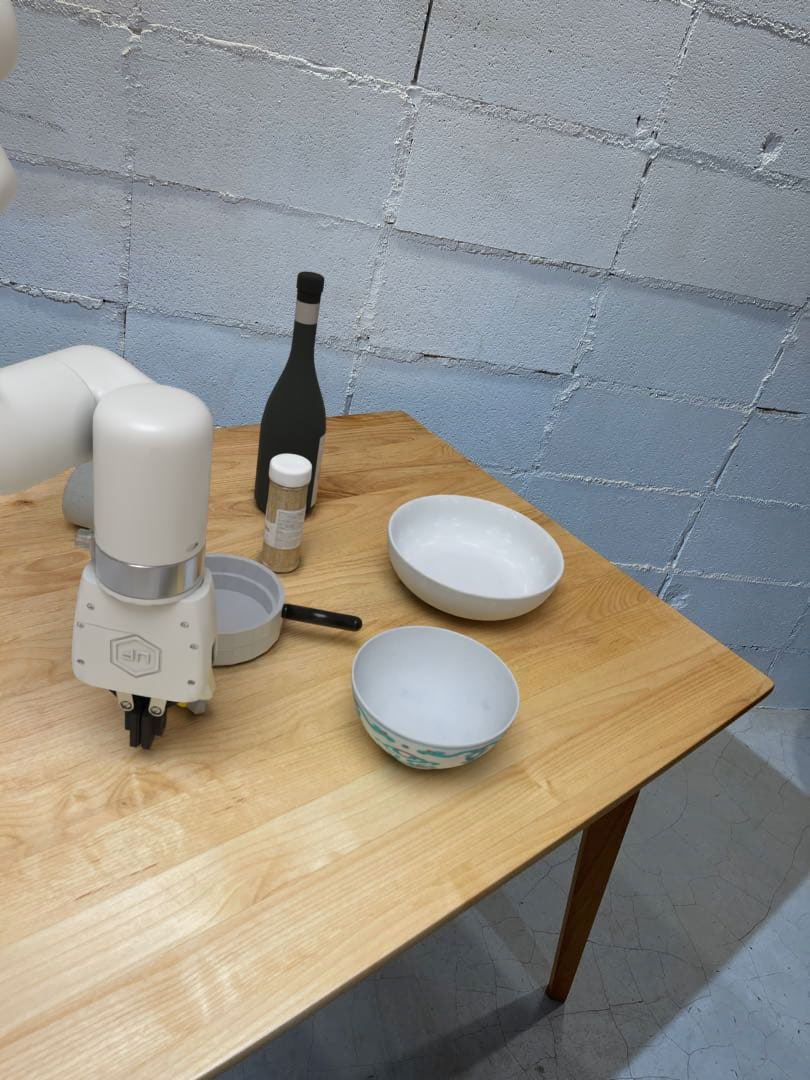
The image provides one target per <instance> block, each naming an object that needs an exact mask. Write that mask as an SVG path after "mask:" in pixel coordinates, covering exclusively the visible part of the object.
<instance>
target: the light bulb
mask: <svg viewBox="0 0 810 1080" xmlns="http://www.w3.org/2000/svg"><path fill="white" fill-rule="evenodd" d="M176 705H177V706H179V707H181V708H187V709H188V710H189V711H190V712H191V713H193V714H194V715H197V714H198V715H199V714H203V713H205V712H206V710H207V709H206V700H197V701H194V702H179V703H177V704H176Z"/></svg>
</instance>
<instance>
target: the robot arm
mask: <svg viewBox="0 0 810 1080" xmlns="http://www.w3.org/2000/svg"><path fill="white" fill-rule="evenodd" d="M20 44H21V38H20V30H19V23H18V19H17V17H16V13H15V9H14V6H13V4H12V1H11V0H0V84H2V83H3V82H4V81H6V80H7V79H8V78H9V77H10V76H11V74H12V73H13V72H14V70H15V68H16V66H17V63H18V61H19V60H18V59H19V56H20V46H21V45H20ZM18 191H19V181H18V176H17V173H16V171H15V168H14V167H13V165H12V163H11V160H10V159H9V157H8V155H7V154H6V151H5V150H4V148H3V146H2V143H0V216H1V215H2V214H3V213H4V212H6V211H7V210H8V209H9V208H10V207H11V205H12V204H13V202H14V201H15V199H16V197H17V194H18ZM214 430H215V424H214V419H213V415H212V413H211V411H210V409H209V407H208V406H207V404H206V403H205V402H204V401H203V400H202V399H201V398H199V397H198V396H196V395H195V394H193V393H191V392H189V391H188V390H185V389H182V388H179V387H176V386H173V385H167V384H160V383H158V382H157V381H156V380H154V379H152V378H150V377H149V376H148V375H147V374H145V373H144V372H142V371H141V370H139V368H137V367H135V366H134V365H132V364H131V362H129V361H128V360H126V359H124V358H123V357H122V356H120V355H118V354H117V353H115V352H114V351H112V350H110V349H108V348H105V347H103V346H99V345H94V344H79V345H78V344H77V345H74V346H73V345H72V346H69V347H66V348H63V349H59V350H56V351H53V352H50V353H46V354H43V355H39V356H37V357H33V358H29V359H26V360H23V361H19V362H17V363H13V364H10V365H7V366H4V367H0V497H4V496H10V495H14V494H19V493H21V492H24V491H28V490H29V489H32V488H34V487H36V486H38V485H41V484H42V483H44V482H46V481H48V480H51V479H53V478H55V477H57V476H59V475H62V474H63V473H65V472H68V471H69V470H71V469H73V468H74V469H75V468H76V467H77V466H78V465H80V464H82V463H88V462H93V491H94V529H87V528H82V527H81V528H78V530H77V531H76V533H75V538H74V546H75V547H77V548H82V549H84V550H85V551H88V552H89V554H90V555H91V560H90V561H89V562H88V563H87V564H86V565H85V566H84V567H83V569H82V573H81V576H80V581H79V585H78V589H77V594H76V602H75V608H74V617H73V624H72V625H73V626H72V635H71V636H72V637H71V669H72V673H73V675H74V677H75V678H76V680H78V681H80V682H81V683H83V684H86V685H88V686H92V687H96V688H99V689H103V690H108V691H109V692H110V693H111V694H113V696H114V697H116V698H117V702H118V703H117V704H118V707H119V708H120V709H121V710H123V711H124V731H129V747H130V748H138V747H141V748H142V750H147V751H149V750H151V748H152V745H153V744H154V742H155V739H156V737H161V738H162V737H163V735H164V733H165V730H166V727H167V724H168V709H170V708H172V707H174V706H175V705H177V703H179V702H194V701H197V700H203V701H208V700H211V699H212V698H213V695H214V693H215V691H216V688H217V683H216V679H215V675H214V671H213V670H214V669H213V667H214V666H215V665H214V664H215V661H216V657H217V646H218V619H217V604H216V596H215V589H214V583H213V579H212V574H211V571H210V569H209V568H207V567H205V566H204V563H205V554H206V548H207V535H208V519H209V507H210V506H209V505H210V490H211V480H212V479H211V478H212V465H213V464H212V463H213V452H214V451H213V450H214V438H215V436H214V434H215V431H214Z"/></svg>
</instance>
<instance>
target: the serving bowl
mask: <svg viewBox="0 0 810 1080" xmlns="http://www.w3.org/2000/svg"><path fill="white" fill-rule="evenodd" d="M386 534H387V535H386V543H387V552H388V557H389V559H390V562H391V565H392V567H393V569H394V572H395V573H396V575H397V577H398V578H399V579H400V581H401V582H402V583H403V584H404V585H405V586H406V588H407V589H408V590H410V591H411V593H413V594H414V595H415V596H416V597H417V598H419V599H420V600H422V602H425V603H426V604H428V605H430V606H432V607H433V608H435V609H437V610H440V611H441V612H444V613H446V614H450V615H453V616H456V617H460V618H464V619H468V620H474V621H475V620H477V621H504V620H508V619H513V618H517V617H520V616H522V615H525V614H527V613H529V612H532V611H533V610H534V609H536V608H538V607H539V606H540V605H542V604H543V603H544V602H545V601H546V600H547V599H548V598H549V597H550V596H551V595H552V593H553V592H554V591H555V589H556V587H557V586H558V585H559V583H560V581H561V579H562V577H563V575H564V571H565V558H564V555H563V552H562V550H561V548H560V546H559V544H558V542H557V541H556V540H555V539H554V538H553V536H552V535H551V534H550V533H549V532H548V531H547V530H545V529H544V528H543V527H542V526H541V525H540V524H538V523H537V522H535V521H534V520H532V519H531V518H529V517H528V516H526V515H524V514H523V513H521V512H518V511H517V510H514V509H512V508H510V507H508V506H506V505H503V504H500V503H497V502H494V501H490V500H486V499H483V498H479V497H473V496H467V495H460V494H459V495H458V494H433V495H427V496H421V497H417V498H414V499H411V500H409V501H406V502H405V503H403V504H402V505H400V506H398V507H397V508H396V510H395V511H394V512H393V513H392V514H391V515H390V517H389V520H388V522H387V531H386Z"/></svg>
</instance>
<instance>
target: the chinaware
mask: <svg viewBox="0 0 810 1080" xmlns="http://www.w3.org/2000/svg"><path fill="white" fill-rule="evenodd" d="M350 679H351V682H350V683H351V692H352V698H353V702H354V705H355V709H356V712H357V715H358V717H359V719H360V721H361V723H362V725H363V727H364V729H365V730H366V732H367V733H368V735H369V736H370V737H371V738H372V740H373V741H374V742H375V743H376V744H377V745H378V746H379V747H380V748H381V749H382V750H384V751H385V752H386V753H388V755H391V756H392V757H393V758H395V759H396V760H397V761H398V762H400V763H402V764H403V765H405V766H407V767H410V768H414V769H418V770H437V769H439V770H440V769H442V770H443V769H450V768H456V767H459V766H463V765H465V764H468V763H470V762H473V761H474V760H477V759H478V758H480V757H482V756H484V755H485V754H486V753H487V752H488V751H490V750H491V749H492V748H494V747H495V745H496V744H498V742H500V740H501V739H502V738H503V737H504V736H505V735H506V733H507V732H508V730H510V727H511V726H512V724H513V723H514V721H515V720H516V718H517V715H518V713H519V709H520V703H521V696H520V689H519V686H518V683H517V680H516V678H515V676H514V674H513V672H512V670H510V668H509V667H508V665H507V664H506V663H505V662H504V661H503V660H502V659H501V657H499V656H498V655H497V654H496V653H495V652H493V651H492V650H491V649H490V648H489V647H487V646H486V645H484V644H482V643H481V642H480V641H477V640H475V639H474V638H471V637H470V636H467V635H464V634H462V633H460V632H457V631H454V630H450V629H446V628H442V627H437V626H429V625H407V626H405V625H404V626H399V627H394V628H390V629H387V630H384V631H382V632H379V633H377V634H376V635H374V636H372V637H370V638H369V639H368V640H367V641H365V642H364V643H363V644H362V645H361V646H360V647H359V649H358V651H357V652H356V654H355V656H354V657H353V661H352V664H351V671H350Z"/></svg>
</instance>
